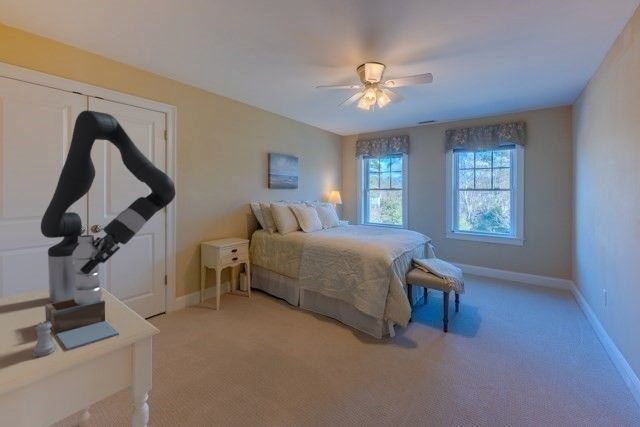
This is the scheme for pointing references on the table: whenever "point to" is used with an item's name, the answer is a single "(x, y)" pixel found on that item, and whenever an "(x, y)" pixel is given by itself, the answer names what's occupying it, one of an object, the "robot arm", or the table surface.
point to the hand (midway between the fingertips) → (79, 269)
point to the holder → (73, 315)
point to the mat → (86, 335)
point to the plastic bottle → (86, 283)
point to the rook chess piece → (44, 340)
